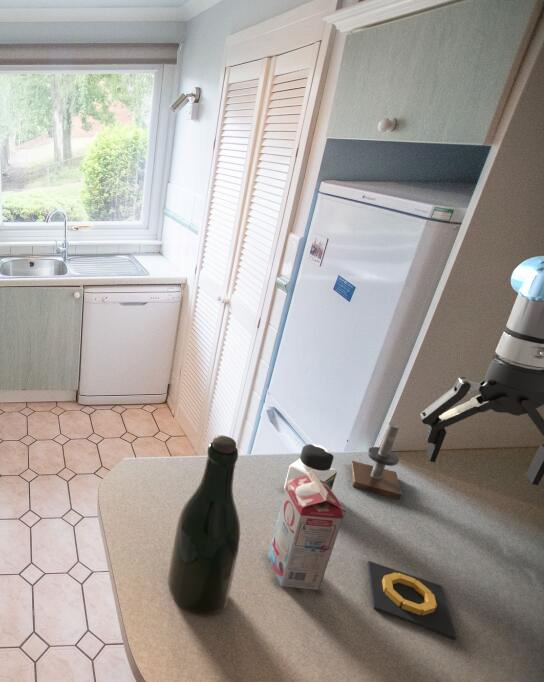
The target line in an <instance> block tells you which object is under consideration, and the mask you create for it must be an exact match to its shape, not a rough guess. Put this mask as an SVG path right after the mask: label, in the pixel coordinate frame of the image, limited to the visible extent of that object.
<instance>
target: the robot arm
mask: <svg viewBox="0 0 544 682" xmlns="http://www.w3.org/2000/svg"><path fill="white" fill-rule="evenodd" d="M510 284H511V287H512V289H513V290H514V291H515V292H516V293H517V296H516V299H515V301H514V304H513V307H512V309H511V312H510V315H509V316H508V320H507V323H506V325H505V328H504V330H503V333H502V335H501V337H500V339H499V341H498V344H497V346H496V348H495V353H496V355H493V357H492V358H491V361H490V363H489V366H488V368H487V371H486V374H485V377H484V379H483V380H481V382H476V381H473V380H468V378H467V377H465V376H459V377H458V378H457V380H456V381H455V383H454V385H453V387H451V388H450V389H449V390H447V391H446V392H445V393H444V394H442V395H441V396H440V397H439V398H437V399H436V400H435V401H433V402H432V403H430V405H428V407H426V408H425V409H423V410H422V411H421V412H419V418H420V420H421V422H422V423H423V425H428V429H427V432H426V433H425V434H426V435H425V440H426V442H427V443H428V444H429V445H428V448H427V450H426V455H427V458H428V460H429V462H432V463H436V460H437V458H438V456H439V454H440V451H441V448H442V446H443V442H444V440H445V438H446V435H447V430H446V428H447V427H450V426H452V425H454V424H456V423H459V422H461V421H463V420H465V419H467V418H470V417H472V416H474V415H476V414H479V413H485V412H488V411H489V410H492V411H493V412H495V413H500V414H501V413H503V414H505V413H507V414H509V415H512V416H517V417H520V415H521V416H522V415H527V416H528V417H529V419H530V420H531V422H532V423H533V424H534V426H535V428H537V430H538V431H539V433H540V434H541V435H542V437H543V438H544V418H543V416H542V415H541V413H540V412H539V411H538V410H537V409H539V408H541V407H543V406H544V255H537V256H534V257H530V258H527V259H526V260H524V261H522V262H521V263H520V264H518V266H517V267H516V268H515V269H514V270H513V271H512V273H511V276H510ZM475 391H477V392H478V393H479V394H477V395H474V396H473V397H471V398H470V400H468V401H466V402H463V403H461V404H459V405H457V406H455V405H456V404H457V403H459V402H460V401H462V399H464V398H465V397H466V396H467V395H471V394H472V393H473V392H475ZM453 406H455V407H453ZM525 476H526V478H527V479H528V480H529V482H530V484H531V485H533V486H534V485H535V486H539V484H540V482H541V480H542V478H543V477H544V443H540V445H539V447H538V448H537V451H536V453H535V455H534V456H533V459H532V460H531V462H530V465H529V466H528V469H527V471H526V473H525Z"/></svg>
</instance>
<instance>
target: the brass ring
mask: <svg viewBox="0 0 544 682" xmlns="http://www.w3.org/2000/svg"><path fill="white" fill-rule="evenodd" d="M395 583H401V584H404V585H407V586H410V587H413V588H414V589H415V590H416V591H417V592H418V593H420V594H421V595H422V596H423V597H424V601H425V603H422V604H416V603H414V602H411V601H408V600H405V599H404V598H403V597H402V596H400V595H399V594H398V593H397V592H396V591H395V590H394V589H393V584H395ZM382 584H383V591H384V592H385V594H386V595H387V596H388V597H389V598H390V599H391V600H392V601H393V602H394V603H395V604H396V605H398V606H401V608H402V609H405V610H407V611H410V612H413V613H415V614H418V615H420V614H421V615H422V616H423V615H426V614H429V613H432V612H434V611H435V609H436V607H437V604H436V600H435V596H434V594H432V592H431V591H430V590H429V589H428V588H427V587H425V586H424V585H423V584H422V583H421V582H419V581H418V580H417V581H416V580H415V578H412V577H409V576H406V575H403V574H400V573H396V572H395V573H392V574H388V575H385V576H384V577H383V580H382Z"/></svg>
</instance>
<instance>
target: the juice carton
mask: <svg viewBox="0 0 544 682" xmlns="http://www.w3.org/2000/svg"><path fill="white" fill-rule="evenodd" d="M345 513H346V510H345V509H344V507H343V506H342V504H341V502H340V501H339V499H338V498H337V496H336V495H335V493H333V491H332V489H330V488H329V486H328V485H327V484H326V483H325V482H323V481H321V480H319V478H318V477H317V475H316V474H315V472H314V471H313V469H312V468H311V467H310V471H309V475H305V476H302V477H298V478H295V479H291V480H289V481H288V482H287V486H286V489H285V490H284V493H283V498H282V502H281V505H280V510H279V513H278V516H277V517H278V518H277V521H276V525H275V529H274V532H273V536H272V540H271V544H270V546H269V551H268V555H267V557H268V559H269V562H270V564H271V567H272V569H273V572H274V574H275V576H276V578H277V581H278V583H279V586H280V587H287V588H297V589H305V590H314V591H315V590H316V591H319V590H320V588H321V586H322V582H323V579H324V576H325V573H326V570H327V567H328V564H329V561H330V559H331V555H332V552H333V549H334V546H335V543H336V540H337V537H338V534H339V531H340V529H341V526H342V522H343V520H344V515H345Z"/></svg>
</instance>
